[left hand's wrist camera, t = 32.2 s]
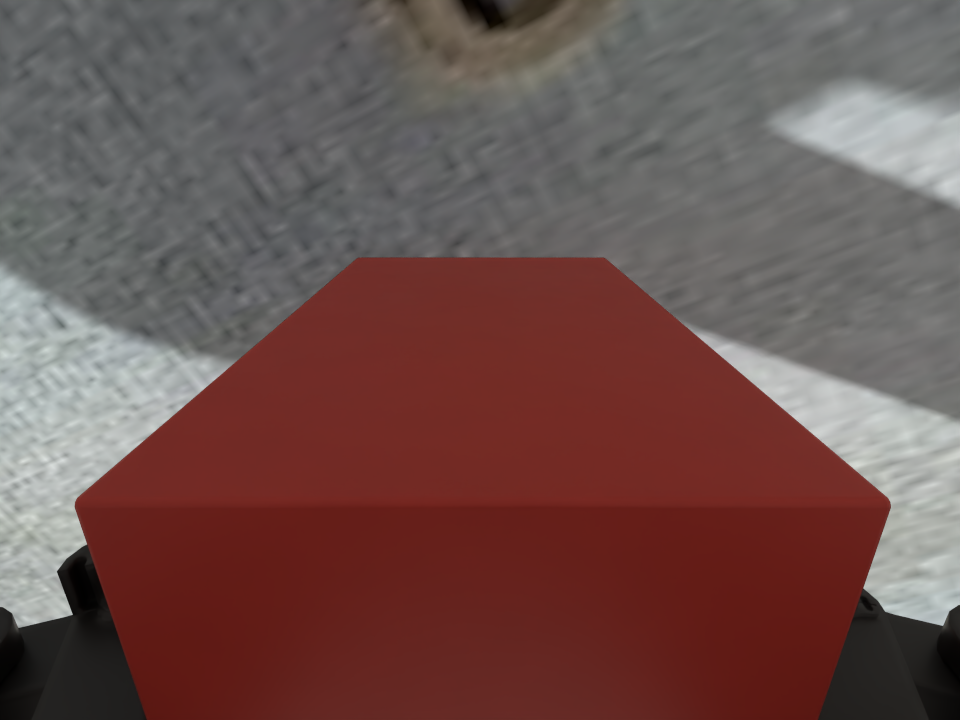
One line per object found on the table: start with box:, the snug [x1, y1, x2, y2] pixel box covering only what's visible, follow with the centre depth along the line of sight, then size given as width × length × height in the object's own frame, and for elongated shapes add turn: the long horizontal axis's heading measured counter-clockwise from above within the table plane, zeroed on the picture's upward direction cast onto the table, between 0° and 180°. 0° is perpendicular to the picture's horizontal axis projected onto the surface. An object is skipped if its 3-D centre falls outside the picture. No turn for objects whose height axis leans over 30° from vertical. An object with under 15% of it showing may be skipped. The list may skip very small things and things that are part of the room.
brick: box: [75, 258, 891, 720], centre depth 12 cm, size 7×8×12 cm
